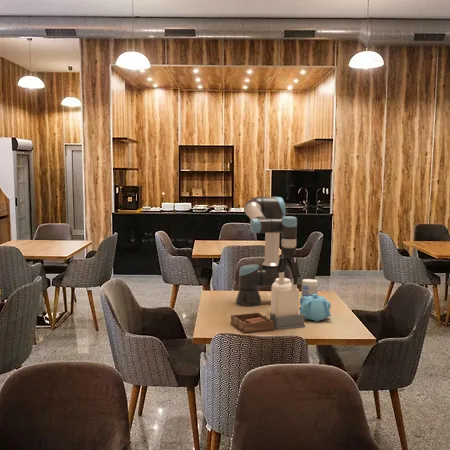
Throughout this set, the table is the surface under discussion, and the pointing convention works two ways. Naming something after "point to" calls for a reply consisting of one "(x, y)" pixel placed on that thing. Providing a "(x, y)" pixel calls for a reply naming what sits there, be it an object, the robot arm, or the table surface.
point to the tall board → (287, 302)
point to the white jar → (277, 287)
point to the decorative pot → (315, 307)
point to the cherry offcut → (255, 320)
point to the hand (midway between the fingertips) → (287, 287)
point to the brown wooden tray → (252, 327)
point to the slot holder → (288, 321)
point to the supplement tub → (309, 287)
